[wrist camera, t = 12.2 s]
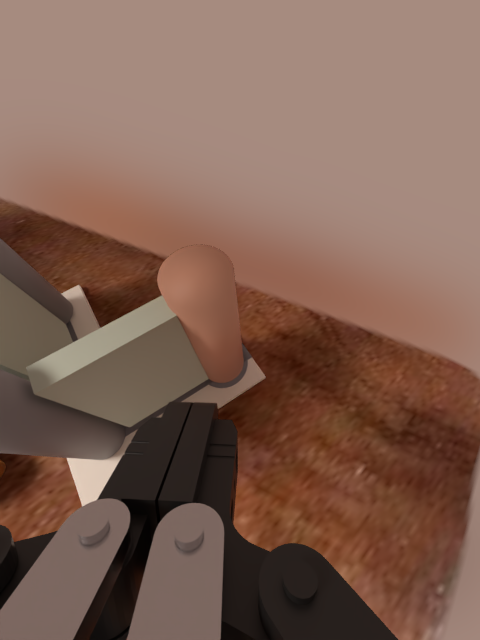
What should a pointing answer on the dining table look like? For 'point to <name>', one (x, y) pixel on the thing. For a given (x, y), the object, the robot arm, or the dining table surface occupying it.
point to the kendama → (2, 468)
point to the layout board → (97, 472)
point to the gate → (153, 345)
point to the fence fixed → (24, 350)
